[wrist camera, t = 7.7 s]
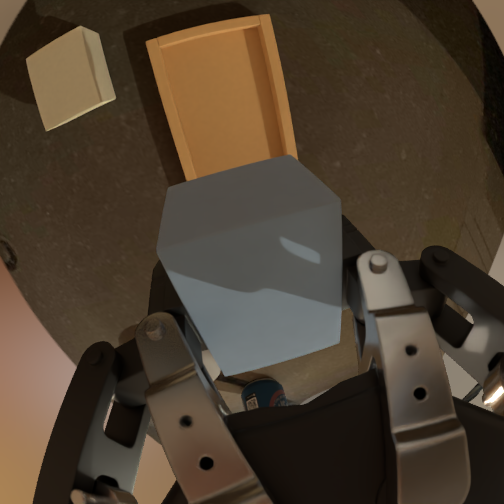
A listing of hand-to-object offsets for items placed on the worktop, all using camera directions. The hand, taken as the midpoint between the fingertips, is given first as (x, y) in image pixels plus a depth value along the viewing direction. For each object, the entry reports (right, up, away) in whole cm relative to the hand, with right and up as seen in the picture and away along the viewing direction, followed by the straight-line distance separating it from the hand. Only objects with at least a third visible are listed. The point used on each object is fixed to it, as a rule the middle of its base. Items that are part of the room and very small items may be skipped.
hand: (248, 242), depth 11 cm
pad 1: (-13, +13, +4) cm, 18 cm away
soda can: (+2, -22, +32) cm, 39 cm away
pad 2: (0, 0, 0) cm, 0 cm away
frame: (-2, +10, +9) cm, 13 cm away
